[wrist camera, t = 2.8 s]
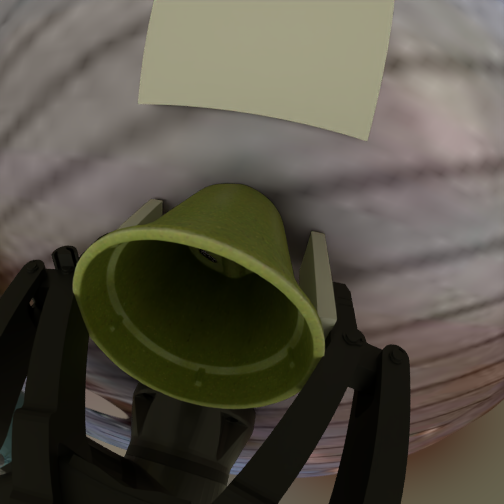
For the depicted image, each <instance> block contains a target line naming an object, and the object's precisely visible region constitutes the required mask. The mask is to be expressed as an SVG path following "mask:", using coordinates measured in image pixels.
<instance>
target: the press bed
mask: <svg viewBox="0 0 504 504" xmlns="http://www.w3.org/2000/svg"><path fill="white" fill-rule="evenodd" d="M393 9H394V0H154V4H153V8H152V12H151V17H150V22H149V27H148V32H147V38H146V44H145V50H144V56H143V63H142V71H141V79H140V88H139V99H138V104H161V105H180V106H193V107H204V108H214V109H222V110H230V111H238V112H244V113H251V114H257V115H263V116H268V117H274V118H279V119H284V120H289V121H293V122H298V123H302V124H307V125H311V126H315V127H319V128H323V129H327V130H331V131H334V132H338V133H341V134H345V135H348V136H352V137H355V138H358V139H361V140H365V141H367V140H368V136H369V132H370V128H371V124H372V120H373V116H374V112H375V108H376V104H377V99H378V95H379V90H380V86H381V81H382V76H383V71H384V66H385V61H386V55H387V49H388V44H389V37H390V31H391V24H392V17H393Z"/></svg>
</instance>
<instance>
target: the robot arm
mask: <svg viewBox="0 0 504 504" xmlns="http://www.w3.org/2000/svg"><path fill="white" fill-rule="evenodd" d="M162 203H163V201H161V200H156V199H150V200H149V201H148V202H147V203H146V204H145V205H143V206H142V207H141V208H140V209H139V210H138V211H137V212H135V213H134V214H133V215H132V216H131V217H130V218H129V219H128V220H126V221H125V222H124V223H123V224H122V225H121V226H120V227H119V228H118V229H121V228H126V227H130V226H136V225H145V224H148V223H151V222H154V221H156V220H157V219H159V218H160V217H161V216H162ZM118 229H117V230H118ZM107 234H108V233H107ZM107 234H105V235H107ZM105 235H103V236H105ZM103 236H101V237H103ZM101 237H99V238H98V239H97V240H99V239H100V238H101ZM97 240H96V241H97ZM96 241H95V242H96ZM95 242H94V243H95ZM84 253H85V252H84ZM84 253H83V254H84ZM83 254H82V255H83ZM82 255H81V256H82ZM81 256H80V257H78V252H77V249H76V248H75V247H73V246H62V247H60V248H58V249H56V250H55V251H54V252H53V253H52V259H53V262H54V266H55V269H46V268H45V265H44V263H43V261H41V260H33V261H30V262H28V263H27V264H26V265H24V267H23V268H22V269H21V270H20V272H19V273H18V274H17V276H16V277H15V278H14V280H13V281H12V283H11V284H10V285H9V287H8V288H7V290H6V291H5V292H4V294H3V295H2V297H1V298H0V504H278V503H279V501H280V500H281V498H282V497H283V495H284V494H285V493H286V491H287V490H288V488H289V487H290V486H291V484H292V482H293V481H294V480H295V478H296V477H297V475H298V474H299V472H300V471H301V469H302V468H303V466H304V465H305V463H306V462H307V460H308V458H309V457H310V455H311V454H312V452H313V450H314V449H315V447H316V445H317V444H318V442H319V440H320V439H321V437H322V435H323V433H324V432H325V430H326V428H327V426H328V424H329V422H330V421H331V419H332V417H333V415H334V413H335V411H336V409H337V407H338V405H339V403H340V401H341V399H342V397H343V395H344V393H345V391H346V389H347V387H350V388H353V389H354V395H353V401H352V408H351V413H350V419H349V424H348V430H347V435H346V439H345V444H344V449H343V453H342V457H341V461H340V466H339V470H338V473H337V477H336V481H335V485H334V488H333V492H332V495H331V498H330V502H329V504H401V498H402V493H403V487H404V480H405V474H406V465H407V457H408V446H409V431H410V364H409V357H408V355H407V353H406V352H405V350H403V349H402V348H401V347H399V346H397V345H392V344H390V345H387V346H386V347H385V348H384V349H383V350H382V349H379V348H377V347H374V346H372V345H370V344H368V343H367V342H366V339H365V336H364V335H363V334H362V332H361V331H359V330H358V329H357V324H356V319H355V313H354V308H353V303H352V298H351V293H350V291H349V289H348V288H347V286H346V285H345V284H341V283H336V282H332V277H331V270H330V264H329V257H328V251H327V245H326V239H325V234H323V233H318V232H314V231H311V235H310V238H309V241H308V244H307V248H306V251H305V254H304V257H303V260H302V263H301V267H300V270H299V287H300V288H301V289H302V291H303V292H304V293H305V294H306V296H307V297H308V298H309V299H310V301H311V303H312V304H313V306H314V308H315V309H316V311H317V313H318V316H319V318H320V320H321V323H322V327H323V332H324V338H325V353H324V356H322V358H321V360H320V361H319V363H318V364H317V366H316V368H315V369H314V371H313V372H312V374H311V376H310V377H309V379H308V380H307V382H306V383H305V385H304V387H303V388H302V390H301V391H300V393H299V394H298V396H297V397H296V399H295V400H294V402H293V403H292V405H291V406H290V407H289V409H288V410H287V412H286V413H285V415H284V416H283V417H282V419H281V420H280V422H279V423H278V424H277V426H276V427H275V428H274V430H273V431H272V433H271V434H270V435H269V437H268V438H267V439H266V440H265V442H264V443H263V444H262V446H261V447H260V448H259V449H258V451H257V452H256V453H255V455H254V456H253V457H252V458H251V459H250V461H249V462H248V463H247V464H246V466H245V467H244V468H243V469H242V470H241V471H240V473H239V474H238V475H237V476H236V477H235V478H234V480H233V481H232V482H231V483H230V484H229V485H228V486H227V482H228V478H229V473H230V470H231V468H232V466H233V465H234V463H235V461H236V460H237V458H238V457H239V455H240V453H241V452H242V450H243V448H244V447H245V445H246V443H247V442H248V440H249V438H250V436H251V435H252V432H253V429H254V423H255V417H256V415H255V411H254V410H253V408H246V409H223V408H213V407H206V406H200V405H197V404H192V403H189V402H185V401H181V400H178V399H175V398H172V397H170V396H168V395H165V394H163V393H161V392H158V391H156V390H153V389H152V388H150V387H148V386H146V385H144V384H142V383H141V382H140V381H139V382H138V385H137V387H136V389H135V391H134V394H133V402H132V425H131V441H130V444H129V446H128V449H127V452H126V454H125V456H124V457H122V456H120V455H118V454H116V453H114V452H112V451H111V450H109V449H107V448H105V447H103V446H102V445H100V444H98V443H96V442H95V441H93V440H91V439H90V438H88V437H86V427H85V383H86V363H87V350H88V340H89V333H88V330H87V328H86V325H85V323H84V320H83V317H82V315H81V312H80V309H79V306H78V303H77V301H76V298H75V295H74V293H73V277H74V273H75V268H76V266H77V263H78V261H79V260H80V258H81ZM31 299H32V300H33V302H34V303H33V305H32V306H30V304H29V302H30V301H31ZM26 377H27V380H26V387H25V393H24V392H23V391H21V390H22V387H23V384H24V382H25V379H26Z"/></svg>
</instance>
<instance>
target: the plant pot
mask: <svg viewBox="0 0 504 504" xmlns="http://www.w3.org/2000/svg"><path fill="white" fill-rule="evenodd" d="M199 249H204V251H206V252H207V253H208V254H209V255H211V256H212V257H213V258H214V259H216V260H217V262H212V261H210V260H209V259H207V258H206V257H204V256H203V255H202V254H201V253H200V251H199ZM73 293H74V295H75V298H76V301H77V303H78V306H79V309H80V312H81V315H82V317H83V320H84V323H85V325H86V328H87V330H88V333H89V336H90V337H91V339H92V340H93V341H94V342H95V344H96V345H97V346H98V347H99V348H100V349H101V350H102V351H103V352H104V353H105V355H106V356H107V357H108V358H109V359H110V360H111V361H112V362H113V363H114V364H116V365H117V366H118V367H119V368H120V369H121V370H123V371H124V372H126V373H127V374H128V375H130V376H131V377H133V378H135V379H137V380H138V381H140V382H141V383H142V384H144V385H146V386H148V387H150V388H152V389H153V390H156V391H158V392H161V393H163V394H165V395H168V396H170V397H172V398H175V399H178V400H181V401H185V402H189V403H192V404H197V405H200V406H206V407H213V408H223V409H246V408H254V407H262V406H266V405H270V404H273V403H277V402H280V401H282V400H285V399H287V398H290V397H291V396H294V395H295V394H297V393H298V392H300V391H301V390H302V388H303V387H304V385H305V383H306V382H307V380H308V379H309V377H310V376H311V374H312V372H313V371H314V369H315V368H316V366H317V364H318V363H319V361H320V360H321V358H322V356H324V353H325V338H324V332H323V327H322V323H321V320H320V318H319V316H318V313H317V311H316V309H315V308H314V306H313V304H312V303H311V301H310V299H309V298H308V297H307V296H306V294H305V293H304V292H303V291H302V289H301V288H300V287H299V285H298V284H297V282H296V280H295V279H294V274H293V269H292V265H291V260H290V255H289V251H288V246H287V240H286V235H285V230H284V226H283V222H282V219H281V216H280V214H279V212H278V211H277V209H276V207H275V206H274V205H273V203H272V202H271V201H270V200H269V199H268V198H266V197H265V196H264V195H263V194H261V193H260V192H258V191H257V190H255V189H253V188H251V187H248V186H246V185H242V184H215V185H211V186H208V187H206V188H204V189H202V190H200V191H199V192H197V193H196V194H194V195H192V196H191V197H189V198H188V199H187V200H185V201H184V202H182V203H181V204H179V205H178V206H176V207H175V208H173V209H172V210H170V211H169V212H167V213H166V214H164V215H163V216H161V217H160V218H159V219H157V220H156V221H154V222H151V223H148V224H145V225H136V226H130V227H126V228H121V229H118V230H115V231H113V232H110V233H108V234H107V235H105V236H103V237H101V238H100V239H99V240H97V241H96V242H95V243H93V244H92V245H91V246H90V247H89V248H88V249H87V250H86V251H85V253H84V254H83V255H82V256H81V258H80V260H79V261H78V263H77V266H76V268H75V273H74V277H73Z"/></svg>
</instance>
